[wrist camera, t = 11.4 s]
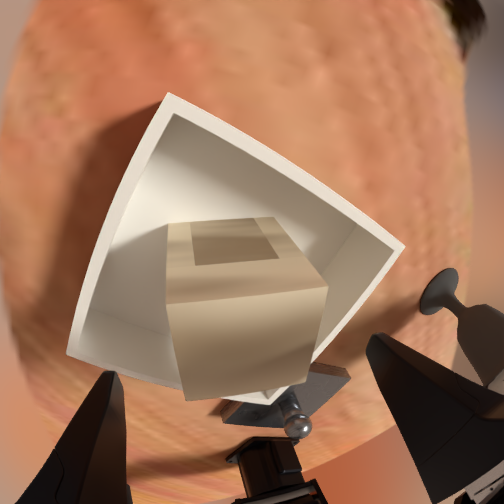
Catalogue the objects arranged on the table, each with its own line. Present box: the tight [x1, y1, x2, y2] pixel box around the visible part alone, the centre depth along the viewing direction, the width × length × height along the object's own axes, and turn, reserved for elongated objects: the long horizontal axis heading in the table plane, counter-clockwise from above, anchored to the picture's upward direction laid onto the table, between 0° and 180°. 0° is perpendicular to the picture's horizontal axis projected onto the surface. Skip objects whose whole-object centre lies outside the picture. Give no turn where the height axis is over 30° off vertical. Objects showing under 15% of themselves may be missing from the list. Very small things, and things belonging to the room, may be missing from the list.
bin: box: [66, 92, 405, 405], centre depth 14 cm, size 12×12×4 cm
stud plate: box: [221, 362, 351, 439], centre depth 21 cm, size 8×8×5 cm
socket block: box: [166, 217, 329, 401], centre depth 12 cm, size 5×5×6 cm
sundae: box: [420, 268, 504, 395], centre depth 16 cm, size 7×7×15 cm
